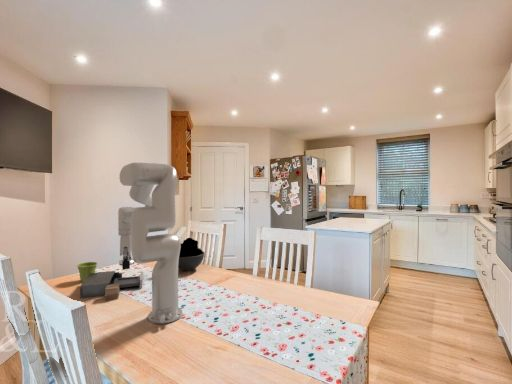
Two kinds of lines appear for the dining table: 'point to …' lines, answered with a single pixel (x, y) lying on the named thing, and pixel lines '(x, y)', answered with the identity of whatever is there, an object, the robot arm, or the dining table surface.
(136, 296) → the dining table surface
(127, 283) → the tray
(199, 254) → the bowl of black rocks
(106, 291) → the block
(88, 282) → the player
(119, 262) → the disc
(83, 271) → the plant pot
